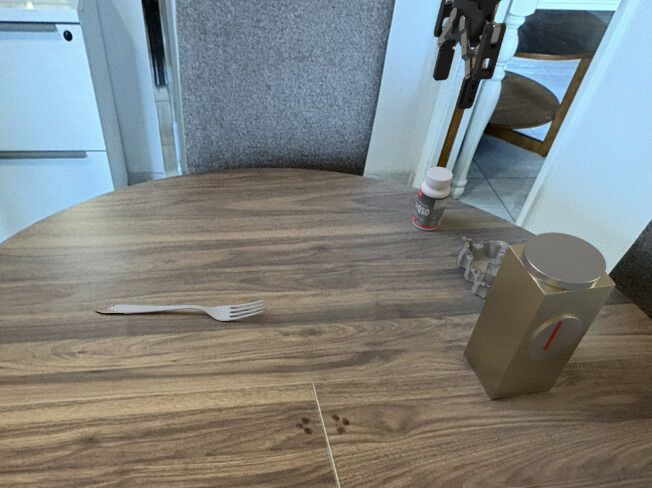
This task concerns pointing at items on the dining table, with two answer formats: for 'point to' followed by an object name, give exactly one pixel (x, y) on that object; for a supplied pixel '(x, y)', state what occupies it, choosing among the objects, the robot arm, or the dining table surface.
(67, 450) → the dining table surface
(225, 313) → the fork
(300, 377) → the dining table surface
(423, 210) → the pill bottle
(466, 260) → the egg carton
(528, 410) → the dining table surface
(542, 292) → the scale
